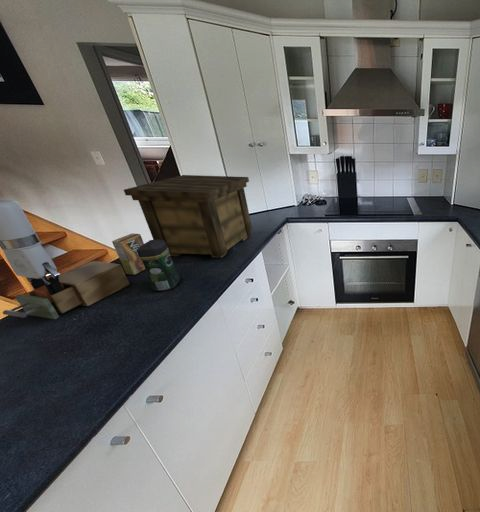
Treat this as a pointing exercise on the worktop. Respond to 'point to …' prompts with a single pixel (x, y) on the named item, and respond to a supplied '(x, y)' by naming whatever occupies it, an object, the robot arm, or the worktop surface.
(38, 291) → the block
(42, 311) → the drawer
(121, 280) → the cabinet
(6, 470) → the worktop surface
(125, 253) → the candy box
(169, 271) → the coffee jar
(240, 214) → the crate
